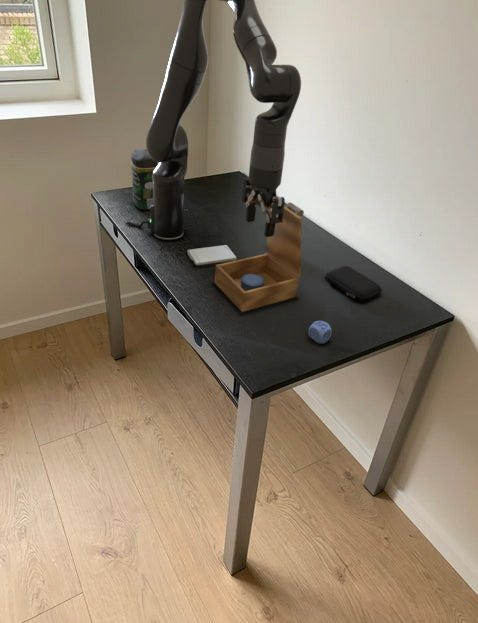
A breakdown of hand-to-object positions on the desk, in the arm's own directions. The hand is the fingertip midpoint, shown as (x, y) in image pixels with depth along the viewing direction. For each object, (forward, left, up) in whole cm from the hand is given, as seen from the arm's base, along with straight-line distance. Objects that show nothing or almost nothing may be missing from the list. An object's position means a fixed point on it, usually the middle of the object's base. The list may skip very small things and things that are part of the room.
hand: (259, 228), depth 118 cm
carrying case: (+26, +13, -19) cm, 34 cm away
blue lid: (0, 0, -18) cm, 18 cm away
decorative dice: (+20, -13, -19) cm, 30 cm away
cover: (+5, +5, -4) cm, 8 cm away
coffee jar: (-47, +40, -19) cm, 65 cm away
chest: (+1, +1, -19) cm, 19 cm away
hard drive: (-15, +14, -19) cm, 28 cm away
